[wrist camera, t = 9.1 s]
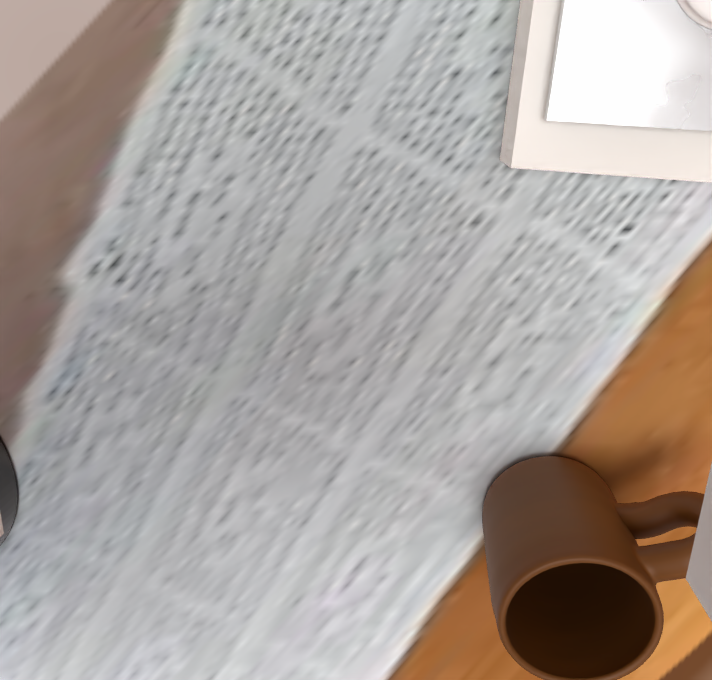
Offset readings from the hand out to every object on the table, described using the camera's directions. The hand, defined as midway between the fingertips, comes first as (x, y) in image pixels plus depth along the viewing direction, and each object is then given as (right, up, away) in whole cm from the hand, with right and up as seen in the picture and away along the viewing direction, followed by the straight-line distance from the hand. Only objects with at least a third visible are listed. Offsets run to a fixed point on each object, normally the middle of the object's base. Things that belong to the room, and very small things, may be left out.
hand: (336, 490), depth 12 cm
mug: (+13, -6, +26) cm, 30 cm away
